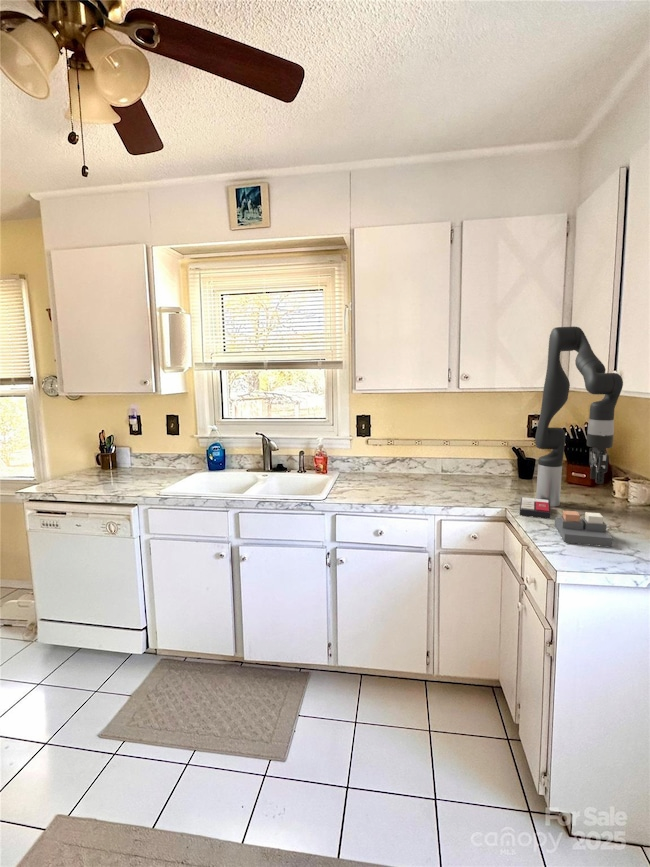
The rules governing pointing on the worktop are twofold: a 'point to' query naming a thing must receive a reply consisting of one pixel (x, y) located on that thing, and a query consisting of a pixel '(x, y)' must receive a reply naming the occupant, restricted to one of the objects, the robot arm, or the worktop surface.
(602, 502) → the worktop surface
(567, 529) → the push button base
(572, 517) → the peach key
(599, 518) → the cream key
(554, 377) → the robot arm
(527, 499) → the calculator
